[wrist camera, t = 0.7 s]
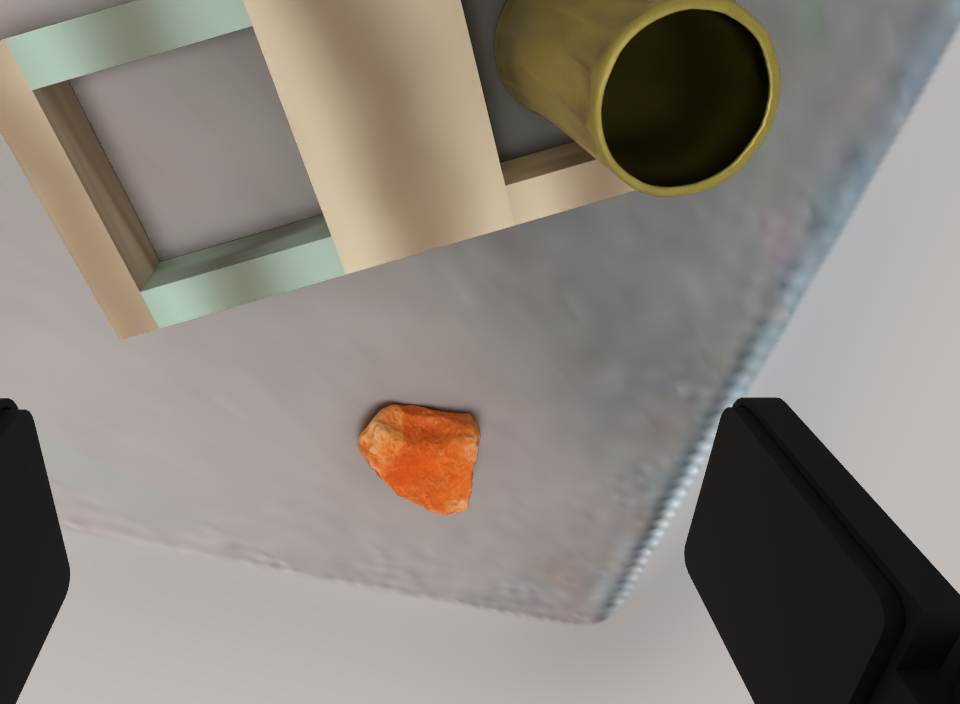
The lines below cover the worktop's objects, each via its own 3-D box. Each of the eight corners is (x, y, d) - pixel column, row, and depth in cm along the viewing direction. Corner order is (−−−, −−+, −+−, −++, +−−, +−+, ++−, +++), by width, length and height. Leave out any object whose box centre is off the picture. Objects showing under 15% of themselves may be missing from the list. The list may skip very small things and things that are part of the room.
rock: (331, 318, 38) (327, 357, 34) (555, 359, 40) (575, 400, 37) (293, 502, 43) (286, 554, 39) (495, 527, 46) (507, 578, 42)
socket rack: (681, -157, 29) (718, -170, 26) (709, 141, 35) (742, 159, 32) (-2, 42, 29) (-45, 53, 26) (140, 306, 35) (119, 340, 32)
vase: (649, 78, 33) (818, 154, 21) (526, 140, 34) (619, 250, 21) (604, -63, 30) (768, -73, 18) (469, 8, 31) (538, 45, 18)
